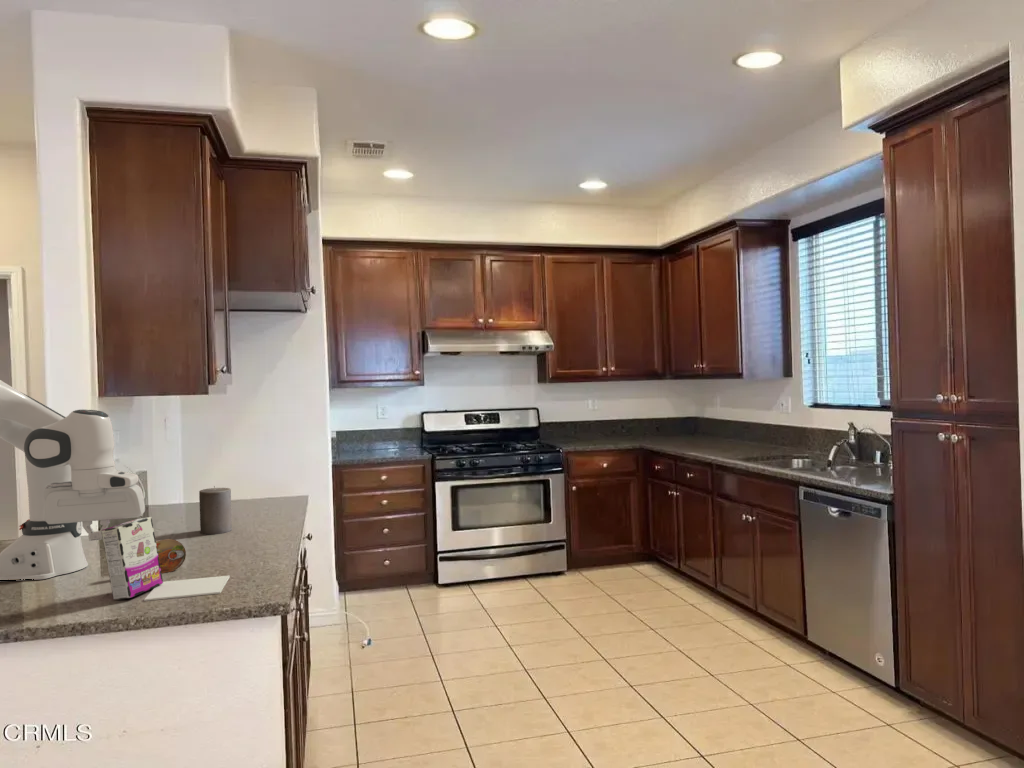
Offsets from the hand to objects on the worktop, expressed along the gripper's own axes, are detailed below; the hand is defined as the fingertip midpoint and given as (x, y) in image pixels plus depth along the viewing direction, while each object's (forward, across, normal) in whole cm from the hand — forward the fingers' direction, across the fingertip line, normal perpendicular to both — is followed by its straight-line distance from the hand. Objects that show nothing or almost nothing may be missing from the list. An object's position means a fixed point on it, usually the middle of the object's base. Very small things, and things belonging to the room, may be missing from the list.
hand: (97, 539), depth 163 cm
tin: (+14, +7, +18) cm, 24 cm away
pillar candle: (+14, +13, +67) cm, 70 cm away
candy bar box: (+13, +8, 0) cm, 16 cm away
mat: (+13, +19, 0) cm, 23 cm away
